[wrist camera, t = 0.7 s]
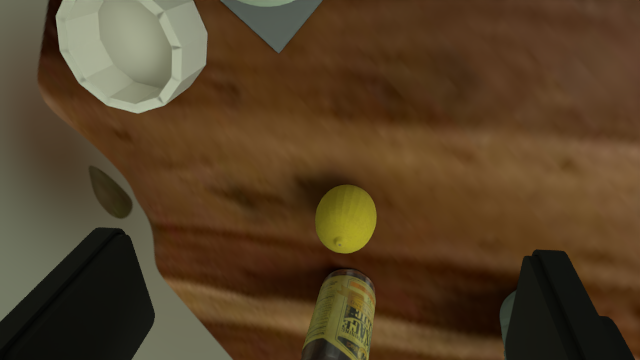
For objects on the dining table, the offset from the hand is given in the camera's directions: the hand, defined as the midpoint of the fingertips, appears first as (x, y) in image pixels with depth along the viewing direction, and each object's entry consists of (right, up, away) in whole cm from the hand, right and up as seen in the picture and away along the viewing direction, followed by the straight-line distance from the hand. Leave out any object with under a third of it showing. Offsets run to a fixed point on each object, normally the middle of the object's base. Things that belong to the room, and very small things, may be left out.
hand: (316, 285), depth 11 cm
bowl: (-15, +15, +29) cm, 36 cm away
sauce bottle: (+3, -9, +40) cm, 41 cm away
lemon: (+3, +1, +33) cm, 34 cm away
